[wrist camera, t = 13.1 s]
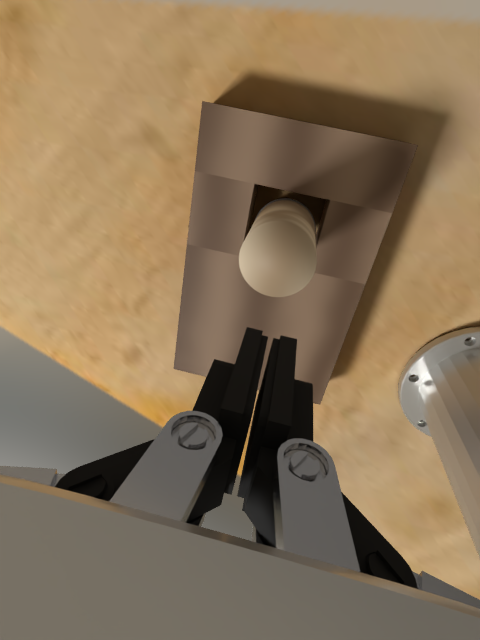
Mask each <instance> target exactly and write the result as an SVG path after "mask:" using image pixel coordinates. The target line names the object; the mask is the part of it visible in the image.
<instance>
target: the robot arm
mask: <svg viewBox="0 0 480 640" xmlns="http://www.w3.org/2000/svg"><path fill="white" fill-rule="evenodd" d="M262 332H263V331H262V330H258V329H254V328H249V327H247V328H246V331H245V334H244V337H243V341H242V344H241V347H240V350H239V353H238V356H237V359H236V362H235V364H232V363H228V362H224V361H220V360H216V359H214V361H213V363H212V365H211V368H210V370H209V372H208V375H207V377H206V380H205V382H204V384H203V387H202V389H201V391H200V394H199V396H198V399H197V401H196V403H195V406H194V408H193V411H186V412H181V413H179V414H177V415H175V416H173V417H172V418H171V419H170V420H169V421H168V422H167V423H166V425H165V426H164V427H163V429H162V430H161V432H160V433H159V434H158V436H157V437H156V438H155V439H154V440H151V441H148V442H146V443H143V444H140V445H137V446H135V447H132V448H129V449H127V450H124V451H121V452H118V453H115V454H113V455H110V456H107V457H105V458H102V459H99V460H96V461H94V462H91V463H88V464H85V465H83V466H80V467H78V468H76V469H74V470H72V471H70V472H68V473H67V474H57V469H47V468H29V467H10V466H0V640H480V600H479V599H477V598H475V597H473V596H471V595H469V594H467V593H465V592H463V591H461V590H459V589H457V588H455V587H453V586H451V585H449V584H447V583H445V582H443V581H441V580H439V579H437V578H435V577H433V576H431V575H429V574H427V573H426V572H424V571H421V573H420V574H419V575H418V574H416V573H414V572H413V571H412V570H411V568H410V567H409V565H408V564H407V563H406V561H405V560H404V559H403V557H402V556H401V555H400V554H399V553H398V552H397V551H396V550H395V549H394V548H393V547H392V545H391V544H390V543H389V542H388V541H387V540H386V539H385V538H384V537H383V536H382V535H381V534H380V533H379V532H378V531H377V529H376V528H375V527H374V526H373V525H372V524H371V523H370V522H369V521H368V520H367V519H366V518H365V517H364V516H363V514H362V513H361V512H360V511H359V510H358V509H357V508H356V507H355V506H354V505H353V504H352V503H351V502H350V501H349V499H348V498H347V497H346V496H345V495H344V494H343V493H342V492H341V489H340V485H339V481H338V477H337V472H336V468H335V465H334V462H333V460H332V458H331V456H330V455H329V454H328V452H327V451H326V450H325V449H323V448H322V447H321V446H320V445H318V444H316V443H314V442H313V384H312V383H308V382H304V381H300V380H296V379H295V365H296V350H297V339H295V338H291V337H286V336H282V335H281V336H280V339H276V338H273V341H272V345H271V348H270V352H269V356H268V360H267V364H266V368H265V371H264V375H263V379H262V383H261V387H260V390H259V394H258V398H257V402H256V406H255V411H254V416H253V421H252V426H251V431H250V436H249V441H248V445H247V450H246V455H245V460H244V465H243V470H242V475H241V481H240V485H239V490H238V497H242V498H244V503H243V509H242V510H243V511H245V513H246V514H247V516H248V517H249V519H250V520H251V522H252V523H253V530H252V541H249V540H245V539H242V538H238V537H235V536H231V535H228V534H224V533H220V532H217V531H213V530H210V529H206V528H203V527H201V526H202V524H203V522H204V518H205V515H206V512H208V511H210V510H212V509H214V508H216V507H218V506H220V505H221V503H222V499H223V494H224V493H227V494H232V490H233V486H234V483H235V479H236V475H237V471H238V467H239V464H240V460H241V456H242V452H243V448H244V444H245V441H246V437H247V433H248V429H249V425H250V421H251V417H252V413H253V408H254V403H255V398H256V394H257V389H258V384H259V379H260V374H261V369H262V365H263V360H264V355H265V350H266V345H267V340H268V336H264V335H262ZM398 396H399V400H400V404H401V407H402V409H403V412H404V414H405V416H406V417H407V419H408V420H409V422H410V423H411V424H412V425H413V426H414V427H416V428H417V429H418V430H420V431H421V432H423V433H425V434H426V435H428V436H431V437H432V439H433V441H434V444H435V447H436V449H437V452H438V454H439V457H440V459H441V462H442V464H443V467H444V469H445V472H446V474H447V477H448V480H449V482H450V485H451V487H452V490H453V492H454V495H455V497H456V500H457V502H458V505H459V507H460V510H461V513H462V515H463V518H464V520H465V523H466V525H467V528H468V530H469V533H470V535H471V538H472V540H473V543H474V546H475V548H476V551H477V553H478V556H479V558H480V327H471V328H466V329H461V330H457V331H453V332H451V333H448V334H446V335H443V336H441V337H438V338H437V339H435V340H433V341H431V342H430V343H428V344H426V345H425V346H424V347H423V348H421V349H420V350H419V351H418V352H416V353H415V354H414V356H413V357H412V358H411V359H410V360H409V361H408V363H407V364H406V366H405V368H404V370H403V371H402V373H401V377H400V380H399V383H398Z"/></svg>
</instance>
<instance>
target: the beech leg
mask: <svg viewBox="0 0 480 640" xmlns="http://www.w3.org/2000/svg"><path fill="white" fill-rule="evenodd" d="M315 232H316V228H315V221H314V218H313V215H312V213H311V212H310V210H309V209H308V208H307V207H306V206H305V205H304V204H302V203H301V202H299V201H297V200H294V199H289V198H281V199H276V200H273V201H271V202H269V203H268V204H266V205H265V206H264V207H263V208H262V209H261V210H260V211H259V213H258V215H257V216H256V219H255V221H254V223H253V225H252V227H251V229H250V231H249V233H248V235H247V236H246V238H245V240H244V242H243V244H242V246H241V249H240V253H239V266H240V270H241V273H242V275H243V277H244V279H245V281H246V282H247V283H248V284H249V285H250V286H251V287H252V288H253V289H254V290H256V291H257V292H259V293H261V294H264V295H267V296H271V297H285V296H290V295H293V294H295V293H297V292H299V291H300V290H302V289H303V288H304V287H305V286H306V285H307V284H308V283H309V282H310V280H311V279H312V277H313V275H314V272H315V269H316V264H317V256H316V240H315Z"/></svg>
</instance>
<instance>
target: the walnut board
mask: <svg viewBox="0 0 480 640" xmlns="http://www.w3.org/2000/svg"><path fill="white" fill-rule="evenodd" d="M417 147H418V145H415V144H411V143H406V142H401V141H396V140H392V139H387V138H382V137H377V136H372V135H367V134H362V133H357V132H352V131H347V130H342V129H337V128H333V127H328V126H323V125H318V124H313V123H308V122H303V121H298V120H293V119H288V118H283V117H278V116H274V115H269V114H264V113H259V112H254V111H249V110H244V109H239V108H234V107H229V106H224V105H219V104H214V103H209V102H204V101H202V110H201V119H200V128H199V138H198V147H197V156H196V166H195V175H194V184H193V194H192V203H191V212H190V221H189V231H188V240H187V249H186V259H185V268H184V277H183V287H182V296H181V305H180V314H179V324H178V333H177V342H176V352H175V361H174V369H176V370H181V371H185V372H189V373H193V374H197V375H201V376H205V377H207V375H208V372H209V370H210V368H211V365H212V363H213V361H214V359H216V360H220V361H224V362H228V363H232V364H235V362H236V359H237V356H238V353H239V350H240V347H241V344H242V341H243V337H244V334H245V331H246V328H247V327H249V328H254V329H258V330H262V331H263V332H262V335H264V336H268V340H267V345H266V350H265V355H264V360H263V365H262V369H261V374H260V379H259V384H258V390H260V387H261V383H262V379H263V375H264V371H265V368H266V364H267V360H268V356H269V352H270V348H271V345H272V341H273V338H276V339H280V336H281V335H282V336H286V337H291V338H295V339H297V350H296V365H295V379H296V380H300V381H304V382H308V383H312V384H313V403H315V404H320V403H321V401H322V398H323V395H324V393H325V390H326V387H327V385H328V382H329V379H330V377H331V374H332V371H333V369H334V366H335V364H336V361H337V358H338V356H339V353H340V350H341V348H342V345H343V342H344V340H345V337H346V334H347V332H348V329H349V327H350V324H351V321H352V319H353V316H354V313H355V311H356V308H357V305H358V303H359V300H360V297H361V295H362V292H363V289H364V287H365V284H366V282H367V279H368V276H369V274H370V271H371V268H372V266H373V263H374V260H375V258H376V255H377V252H378V250H379V247H380V245H381V242H382V239H383V237H384V234H385V231H386V229H387V226H388V223H389V221H390V218H391V215H392V213H393V210H394V208H395V205H396V202H397V200H398V197H399V194H400V192H401V189H402V186H403V184H404V181H405V178H406V176H407V173H408V170H409V168H410V165H411V163H412V160H413V157H414V155H415V152H416V149H417ZM258 185H262V186H267V187H272V188H276V189H281V190H286V191H290V192H295V193H300V194H305V195H309V196H314V197H319V198H323V199H326V202H325V206H324V210H323V213H322V217H321V220H320V224H319V227H318V231H317V234H316V238H315V240H316V256H317V264H316V269H315V272H314V275H313V277H312V279H311V280H310V282H309V283H308V284H307V285H306V286H305V287H304V288H303V289H302V290H300V291H299V292H297V293H295V294H293V295H290V296H285V297H271V296H267V295H264V294H261V293H259V292H257V291H256V290H254V289H253V288H252V287H251V286H250V285H249V284H248V283H247V282H246V281H245V279H244V277H243V275H242V273H241V270H240V266H239V253H240V249H241V246H242V244H243V242H244V240H245V238H246V236H247V235H248V233H249V229H250V223H251V218H252V213H253V208H254V202H255V197H256V192H257V187H258Z"/></svg>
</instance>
